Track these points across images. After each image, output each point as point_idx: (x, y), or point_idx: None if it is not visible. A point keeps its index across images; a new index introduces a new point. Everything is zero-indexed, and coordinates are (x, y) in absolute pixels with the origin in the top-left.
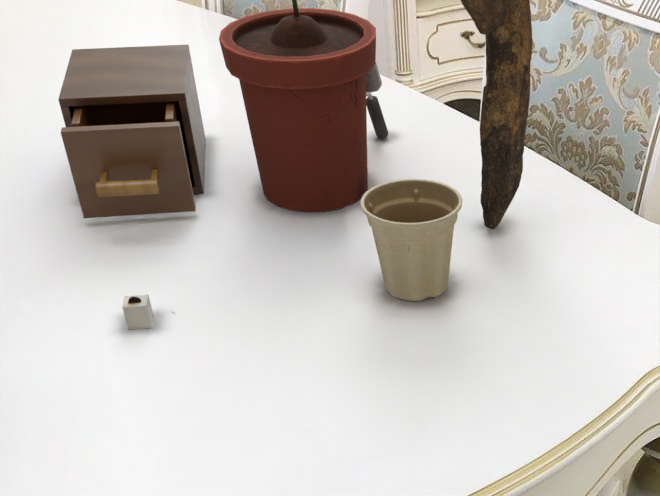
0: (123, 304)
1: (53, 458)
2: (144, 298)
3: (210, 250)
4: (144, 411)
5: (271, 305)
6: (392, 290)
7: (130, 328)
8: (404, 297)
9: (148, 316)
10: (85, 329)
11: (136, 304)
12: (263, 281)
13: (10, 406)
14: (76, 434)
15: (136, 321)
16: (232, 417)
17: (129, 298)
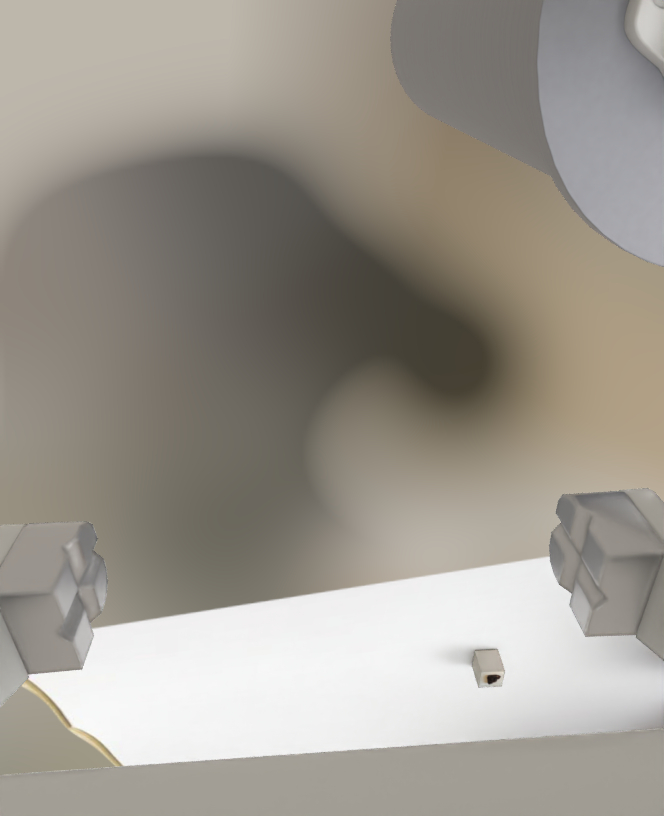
0: (487, 672)
1: (257, 629)
2: (494, 684)
3: (616, 688)
4: (325, 675)
5: (487, 732)
6: None
7: (474, 652)
8: None
9: (475, 676)
10: (485, 620)
11: (483, 680)
12: (535, 725)
13: (349, 588)
14: (294, 639)
15: (475, 664)
16: (308, 723)
17: (496, 675)
